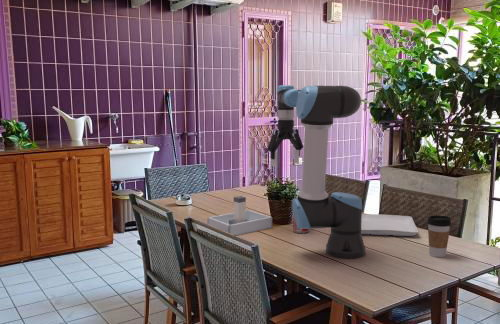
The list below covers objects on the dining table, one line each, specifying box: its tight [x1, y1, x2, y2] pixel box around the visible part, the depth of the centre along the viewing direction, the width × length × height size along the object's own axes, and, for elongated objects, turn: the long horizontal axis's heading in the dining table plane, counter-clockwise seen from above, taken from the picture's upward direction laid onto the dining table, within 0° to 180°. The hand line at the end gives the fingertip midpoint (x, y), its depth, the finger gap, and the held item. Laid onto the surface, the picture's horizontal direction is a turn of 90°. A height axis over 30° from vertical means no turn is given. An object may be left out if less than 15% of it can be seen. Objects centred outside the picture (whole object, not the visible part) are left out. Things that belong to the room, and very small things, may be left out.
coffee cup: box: [427, 215, 452, 258], centre depth 186 cm, size 8×8×15 cm
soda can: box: [292, 215, 310, 234], centre depth 218 cm, size 7×7×13 cm
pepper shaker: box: [233, 195, 247, 222], centre depth 225 cm, size 4×4×14 cm
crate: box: [206, 209, 273, 236], centre depth 226 cm, size 18×24×5 cm
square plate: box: [361, 213, 419, 237], centre depth 223 cm, size 27×27×4 cm
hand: (285, 164), depth 227 cm, fingers open, 13 cm apart
